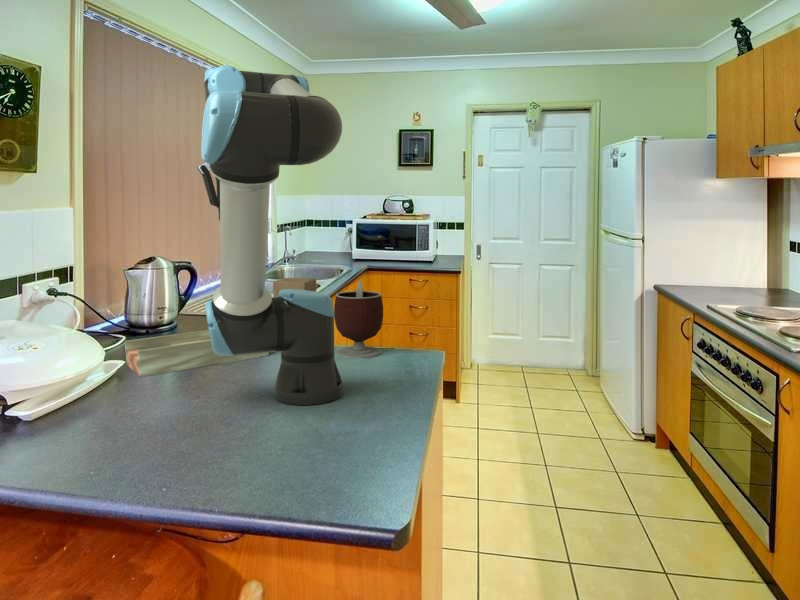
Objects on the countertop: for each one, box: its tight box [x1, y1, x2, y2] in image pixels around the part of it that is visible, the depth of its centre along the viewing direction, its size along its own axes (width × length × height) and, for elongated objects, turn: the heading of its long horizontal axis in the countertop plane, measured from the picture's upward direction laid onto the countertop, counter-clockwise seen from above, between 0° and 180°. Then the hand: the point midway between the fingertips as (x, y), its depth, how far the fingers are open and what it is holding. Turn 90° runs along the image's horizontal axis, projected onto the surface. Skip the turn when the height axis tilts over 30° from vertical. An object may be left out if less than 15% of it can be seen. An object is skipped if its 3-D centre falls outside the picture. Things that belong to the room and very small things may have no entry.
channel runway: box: [124, 329, 270, 378], centre depth 155 cm, size 14×34×6 cm, turn 129°
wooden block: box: [272, 277, 317, 298], centre depth 171 cm, size 10×10×20 cm
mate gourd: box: [333, 279, 384, 359], centre depth 163 cm, size 16×14×20 cm
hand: (228, 234), depth 142 cm, fingers closed
